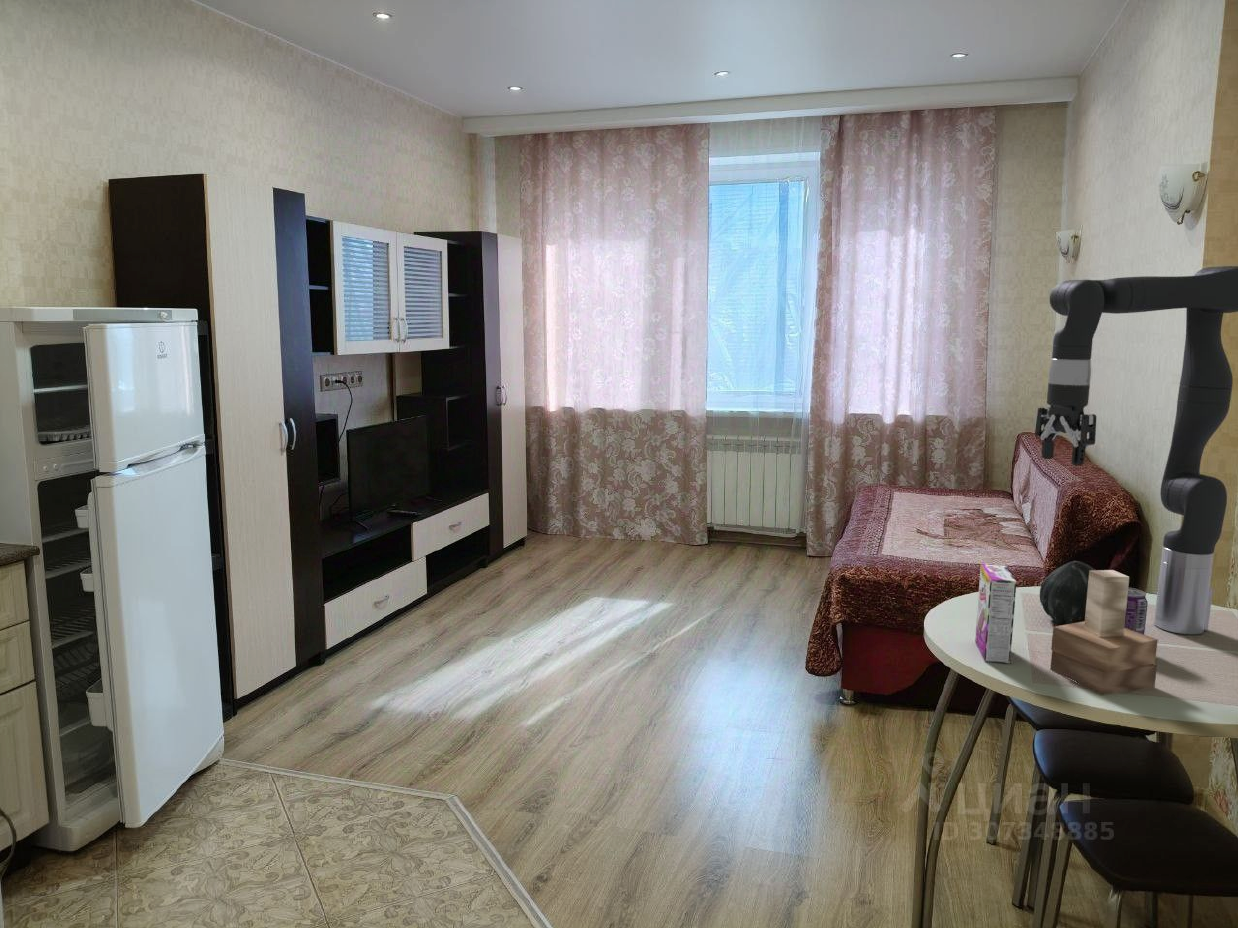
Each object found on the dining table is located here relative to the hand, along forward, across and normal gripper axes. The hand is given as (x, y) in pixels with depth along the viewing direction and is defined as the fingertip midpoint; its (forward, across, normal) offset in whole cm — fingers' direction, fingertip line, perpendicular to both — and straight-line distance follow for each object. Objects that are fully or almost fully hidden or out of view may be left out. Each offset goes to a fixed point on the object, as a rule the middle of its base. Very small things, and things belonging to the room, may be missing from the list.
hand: (1061, 462), depth 189 cm
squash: (+36, +3, -10) cm, 38 cm away
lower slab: (+36, -24, +7) cm, 44 cm away
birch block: (+27, -23, +7) cm, 37 cm away
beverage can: (+36, -12, -8) cm, 39 cm away
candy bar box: (+36, -8, +19) cm, 42 cm away
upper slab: (+32, -23, +7) cm, 40 cm away
